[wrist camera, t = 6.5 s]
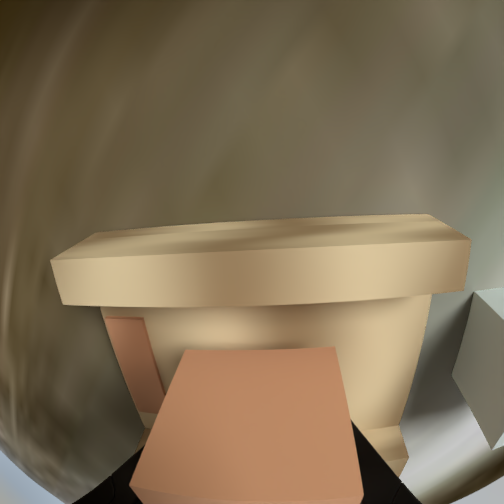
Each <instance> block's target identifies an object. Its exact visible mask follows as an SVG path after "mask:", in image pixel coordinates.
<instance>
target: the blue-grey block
mask: <svg viewBox="0 0 504 504" xmlns="http://www.w3.org/2000/svg"><path fill="white" fill-rule="evenodd" d="M451 376H452V378H453V379H454V381H455V383H456V384H457V386H458V388H459V390H460V391H461V393H462V395H463V397H464V398H465V400H466V402H467V404H468V406H469V407H470V409H471V411H472V413H473V415H474V416H475V418H476V420H477V422H478V424H479V426H480V428H481V430H482V432H483V434H484V436H485V438H486V439H487V441H488V443H489V445H490V448H491V450H494V449H496V448H499V447H501V446H504V287H502V288H495V289H487V290H480V291H474V294H473V299H472V304H471V308H470V312H469V317H468V321H467V325H466V328H465V332H464V336H463V339H462V343H461V346H460V350H459V353H458V356H457V360H456V363H455V366H454V369H453V372H452V375H451Z"/></svg>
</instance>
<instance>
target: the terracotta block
mask: <svg viewBox="0 0 504 504" xmlns="http://www.w3.org/2000/svg"><path fill="white" fill-rule="evenodd" d="M129 486H130V487H131V488H132V490H133V491H134V492H135V494H136V495H137V496H138V498H139V499H140V500H141V502H142V503H143V504H360V503H361V500H362V498H363V496H364V493H363V486H362V480H361V474H360V468H359V462H358V456H357V451H356V445H355V440H354V434H353V429H352V424H351V419H350V414H349V409H348V404H347V399H346V394H345V389H344V385H343V380H342V375H341V371H340V366H339V362H338V357H337V353H336V349H335V346H333V347H318V348H300V349H275V350H185V351H184V354H183V356H182V358H181V361H180V363H179V365H178V368H177V370H176V372H175V375H174V377H173V380H172V382H171V384H170V387H169V389H168V391H167V394H166V396H165V398H164V401H163V403H162V406H161V408H160V410H159V413H158V415H157V418H156V420H155V422H154V425H153V427H152V430H151V432H150V435H149V437H148V439H147V442H146V444H145V447H144V449H143V452H142V454H141V457H140V459H139V462H138V464H137V467H136V469H135V471H134V474H133V476H132V479H131V481H130V484H129Z"/></svg>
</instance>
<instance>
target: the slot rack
mask: <svg viewBox="0 0 504 504" xmlns="http://www.w3.org/2000/svg"><path fill="white" fill-rule="evenodd" d="M470 248H471V239H469V238H468V237H466V236H465V235H463V234H461V233H460V232H458V231H456V230H455V229H453V228H451V227H449V226H448V225H446V224H444V223H443V222H441V221H439V220H437V219H436V218H434V217H432V216H430V215H429V214H405V215H367V216H338V217H314V218H292V219H272V220H254V221H237V222H221V223H206V224H192V225H178V226H165V227H152V228H140V229H128V230H116V231H105V232H96V233H95V234H93V235H91V236H90V237H88V238H86V239H84V240H83V241H81V242H79V243H78V244H76V245H74V246H73V247H71V248H69V249H68V250H66V251H64V252H63V253H61V254H60V255H58V256H56V257H55V258H53V259H51V260H50V261H51V265H52V269H53V272H54V276H55V280H56V283H57V286H58V290H59V293H60V296H61V300H62V303H63V305H81V306H100V309H101V312H102V316H103V319H104V322H105V325H106V328H107V331H108V335H109V338H110V341H111V344H112V346H113V349H114V352H115V355H116V358H117V361H118V363H119V366H120V369H121V371H122V374H123V377H124V379H125V382H126V384H127V387H128V389H129V392H130V394H131V397H132V399H133V402H134V404H135V406H136V409H137V411H138V413H139V416H140V418H141V420H142V422H143V424H144V427H145V430H144V432H143V435H142V437H141V440H140V442H139V444H138V447H137V449H136V451H135V453H136V452H137V451H138V450H139V449H141V448H142V447H143V446H144V445H145V444H146V442H147V439H148V437H149V435H150V432H151V430H152V427H153V425H154V422H155V420H156V418H157V415H158V413H159V410H160V408H161V406H162V403H163V401H164V398H165V396H166V394H167V391H168V389H169V387H170V384H171V382H172V380H173V377H174V375H175V372H176V370H177V368H178V365H179V363H180V361H181V358H182V356H183V354H184V351H185V350H275V349H300V348H318V347H333V346H335V349H336V353H337V357H338V362H339V366H340V371H341V375H342V380H343V385H344V389H345V394H346V399H347V404H348V409H349V414H350V419H351V420H352V421H353V423H354V424H355V425H356V426H357V427H358V429H359V430H360V431H361V432H362V434H363V435H364V436H365V437H366V439H367V440H368V441H369V442H370V444H371V445H372V446H373V447H374V448H375V450H376V451H377V452H378V453H379V455H380V456H381V457H382V458H383V459H384V461H385V462H386V463H387V464H388V465H389V467H390V468H391V469H392V470H393V472H394V473H395V474H396V475H397V476H398V478H399V476H400V474H401V472H402V470H403V468H404V466H405V464H406V462H407V460H408V458H409V456H408V453H407V449H406V446H405V443H404V440H403V437H402V434H401V431H400V427H399V423H400V420H401V417H402V414H403V411H404V408H405V405H406V402H407V399H408V395H409V392H410V389H411V385H412V382H413V378H414V374H415V371H416V367H417V363H418V359H419V355H420V351H421V347H422V342H423V338H424V333H425V328H426V323H427V318H428V313H429V308H430V302H431V296H432V294H438V293H447V292H456V291H464V286H465V281H466V275H467V269H468V262H469V255H470Z"/></svg>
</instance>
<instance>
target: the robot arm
mask: <svg viewBox="0 0 504 504" xmlns="http://www.w3.org/2000/svg"><path fill="white" fill-rule="evenodd" d="M351 424H352V429H353V434H354V440H355V445H356V451H357V456H358V462H359V468H360V474H361V480H362V486H363V493H364V496H363V498H362V500H361V503H360V504H422V503H421V502H420V501H419V500H418V499H417V498H416V497H415V496H414V495H413V494H412V493H411V492H410V491H409V489H408V488H407V487H406V486H405V485H404V483H401V482H402V481H401V480H400V479H399V478H398V476H397V475H396V474H395V473H394V472H393V470H392V469H391V468H390V467H389V465H388V464H387V463H386V462H385V461H384V459H383V458H382V457H381V456H380V455H379V453H378V452H377V451H376V450H375V448H374V447H373V446H372V445H371V444H370V442H369V441H368V440H367V439H366V437H365V436H364V435H363V434H362V432H361V431H360V430H359V429H358V427H357V426H356V425H355V424H354V423H353V421H352V420H351ZM144 447H145V445H144V446H143V447H142V448H141V449H139V450H138V451H137V452H136V453H135V454H134V455H133V456H132V457H131V458H130V459H128V460H127V461H126V462H125V463H124V464H123V465H122V466H121V467H119V468H118V469H117V470H116V471H115V472H114V473H113V474H112V475H111V476H109V477H108V478H107V479H105V480H104V481H103V482H102V483H101V484H99V485H98V486H97V487H96V488H94V489H93V490H92V491H90V492H89V493H88V494H86V495H85V496H83V497H82V498H80V499H79V500H77V501H75V502H74V503H72V504H143V503H142V502H141V500H140V499H139V498H138V496H137V495H136V494H135V492H134V491H133V490H132V488H131V487H130V486H129V484H130V481H131V479H132V476H133V474H134V471H135V469H136V467H137V464H138V462H139V459H140V457H141V454H142V452H143V449H144Z"/></svg>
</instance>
